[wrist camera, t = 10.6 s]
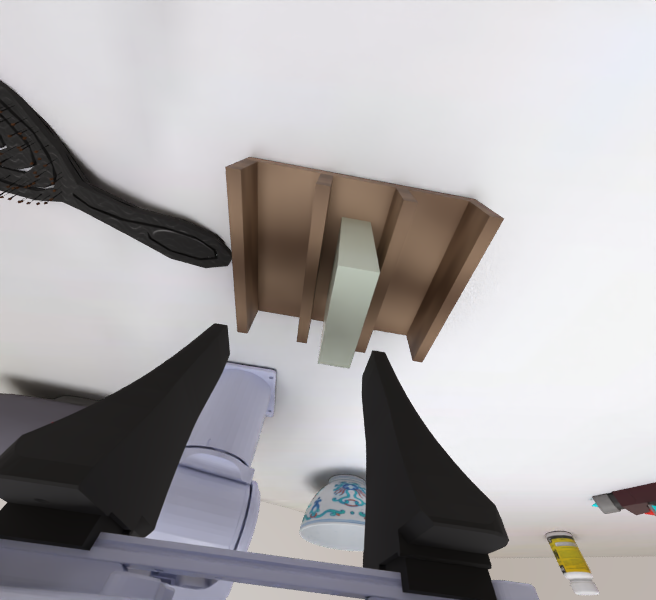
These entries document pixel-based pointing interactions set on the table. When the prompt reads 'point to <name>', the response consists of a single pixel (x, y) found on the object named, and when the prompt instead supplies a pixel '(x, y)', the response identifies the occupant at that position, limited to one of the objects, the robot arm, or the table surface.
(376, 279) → the pale green box
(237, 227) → the dish rack
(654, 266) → the table surface
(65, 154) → the hairbrush
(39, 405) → the bluetooth speaker
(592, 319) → the table surface
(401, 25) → the table surface
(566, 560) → the supplement bottle
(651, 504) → the toy gun
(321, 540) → the chinaware
